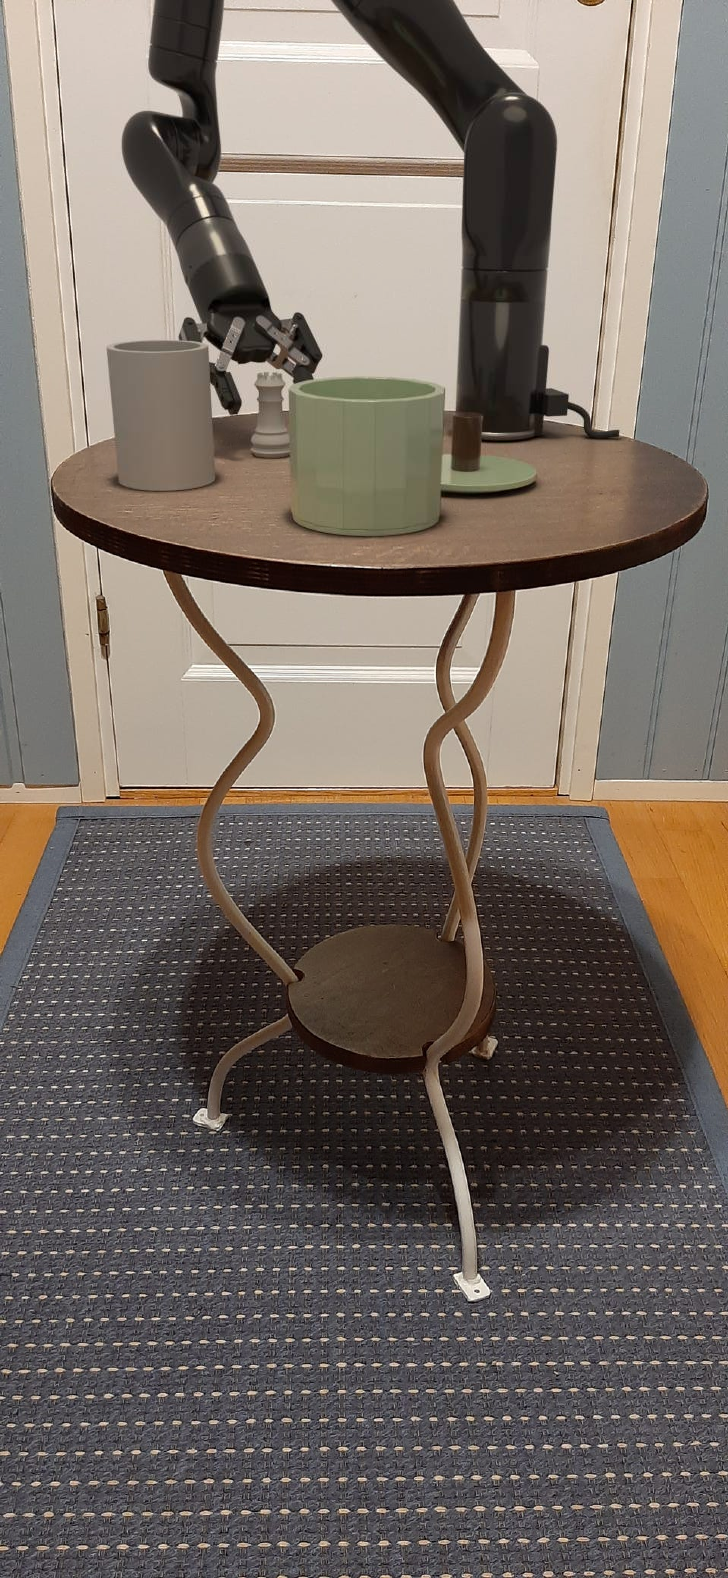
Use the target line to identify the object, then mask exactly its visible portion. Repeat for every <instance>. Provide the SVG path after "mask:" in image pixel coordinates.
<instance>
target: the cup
mask: <svg viewBox="0 0 728 1578" xmlns="http://www.w3.org/2000/svg"><path fill="white" fill-rule="evenodd" d="M209 351H210V350H209V344H207V343H205V342H202V343H201V342H194V341H182V340H179V339H143V340H129V341H121V342H115V343H110V344H108V345H107V346H106V356H107V368H108V378H109V379H108V380H109V389H110V391H109V392H110V400H111V411H112V423H113V433H114V443H115V444H114V445H115V455H116V466H117V477H118V484H120V485H121V486H123V487H125V488H129V489H134V490H140V491H141V490H142V491H152V492H153V491H154V492H155V491H156V492H167V491H169V492H171V491H185V490H190V489H196V488H197V489H198V488H200V487H206V486H208V485H210V484H213V483H214V482H215V480H216V465H215V463H216V462H215V445H214V428H213V427H214V426H213V409H212V407H213V406H212V389H211V388H212V387H211V383H210V368H209V362H210V352H209Z"/></svg>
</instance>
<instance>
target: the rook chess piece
mask: <svg viewBox="0 0 728 1578" xmlns="http://www.w3.org/2000/svg"><path fill="white" fill-rule="evenodd" d="M256 377H257V378H256V380H255V381H254V382H253V385H254V387H255V388H256V389H257V391H258V397H257V398H256V401H257V402H258V415H257V424H256V427H255V428H254V432H255V433H253V435H251V438H250V443H252V445H253V446H252V447H251V448H250V452H251V453H252V454H253V456H255V457H259V458H266V459H276V458H277V459H279V458H285V457H289V456H290V434H289V432H288V430H289V429H288V428H287V426H286V423H285V418H284V411H283V401H284V400H285V398H284V397H283V393H282V392H283V389H284V388H285V386H286V384H287V383H286V381H285V380H284V379H283V373H281V372H275V371H272V373H271V375H270V373H269V371H266V372H265V371H264V372H257V374H256Z"/></svg>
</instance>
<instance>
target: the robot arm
mask: <svg viewBox="0 0 728 1578" xmlns="http://www.w3.org/2000/svg"><path fill="white" fill-rule="evenodd" d="M330 2H331V3H332V5H334V6H335V8H336V9H337V10H338V11H339V13H340V14H341V15H342V16H343V18H344V19H345V20H346V21H347V22H348V24H349V25H350V26H351V28H353V29H354V31H355V32H356V33H357V34H358V35H359V36H360V37H361V38H362V39H363V41H364V42H365V43H366V44H367V45H368V46H369V47H370V49H371V50H372V51H374V52H375V53H376V54H377V56H378V57H380V58H381V60H382V61H384V62H385V63H386V64H387V65H388V66H389V67H390V68H391V69H392V70H394V71H395V72H396V73H397V74H398V75H399V76H400V77H401V78H402V79H403V80H405V81H406V82H407V83H408V84H409V85H410V86H411V87H413V89H415V91H417V92H418V93H419V95H421V97H423V98H424V100H425V101H426V102H427V103H428V104H429V106H431V108H432V109H433V110H434V111H435V113H436V114H437V115H438V117H439V118H440V120H441V121H442V122H443V124H444V125H445V127H446V128H447V130H448V131H449V133H450V135H452V137H453V139H454V140H455V141H456V143H457V145H458V146H459V148H460V149H461V151H462V152H463V170H462V171H463V172H462V199H461V200H462V202H461V228H460V229H461V235H460V236H461V275H460V297H459V298H460V301H459V321H458V324H459V325H458V342H457V343H458V345H457V366H456V367H457V368H456V386H455V388H456V389H455V392H456V393H455V410H454V413H458V412H475V413H480V414H482V415H483V422H482V441H498V442H499V441H518V440H526V439H531V438H533V437H541V436H543V433H544V421H545V417H550V418H551V417H565V416H568V410H569V411H572V412H574V413H577V414H578V415H579V416H580V417H581V418H582V420H583V430H584V433H585V435H586V436H588V437H589V438H592V439H593V440H594V439H595V440H605V439H611V438H619V437H620V429H612V430H605V431H604V430H603V431H596V430H594V429H592V426H591V425H592V424H591V423H592V422H591V420H592V419H591V416H590V413H589V412H588V411H587V410H586V408H584V407H582V406H580V405H579V404H576V403H574V402H572V401H571V402H570V401H569V399H570V394H569V393H566V392H564V391H560V390H558V389H555V388H552V387H550V388H547V381H548V371H549V370H548V369H549V358H550V348H549V346H548V345H546V344H543V338H544V325H545V311H546V299H547V298H546V297H547V284H548V273H549V272H548V271H549V270H548V268H549V262H550V261H549V260H550V249H551V237H552V236H551V235H552V221H553V220H552V217H553V205H554V193H555V192H554V191H555V182H556V181H555V180H556V166H557V153H558V134H557V128H556V125H555V122H554V120H553V117H552V115H551V114H550V112H549V111H548V109H547V108H546V107H545V106H544V105H543V104H542V103H541V102H540V101H538V100H537V99H536V98H534V97H532V96H530V95H528V94H527V93H526V92H525V91H524V90H523V89H522V88H521V87H520V86H519V85H518V84H517V83H516V82H515V81H514V80H513V78H511V77H510V76H509V75H508V74H507V73H506V71H505V70H503V69H502V67H501V66H500V65H499V64H498V63H497V62H496V61H495V60H494V59H493V58H492V57H491V55H490V54H489V53H488V52H487V51H486V50H485V48H484V47H483V45H482V44H481V43H480V41H479V40H478V39H477V37H476V36H475V34H474V32H473V31H472V30H471V28H470V26H469V24H468V23H467V21H466V19H465V17H464V16H463V13H462V12H461V11H460V9H459V7H458V6H457V4H456V2H455V0H330ZM224 12H225V0H154V4H153V12H152V13H153V14H152V21H151V30H150V38H149V39H150V40H149V49H148V59H147V61H148V62H147V68H148V73H149V75H150V77H151V78H152V80H153V81H155V82H156V83H157V84H159V85H161V86H163V87H165V88H167V89H169V90H171V91H173V92H174V93H176V94H177V96H178V99H179V103H180V106H181V107H180V108H181V114H182V116H179V115H174V114H168V113H165V112H160V111H155V110H141V111H138V112H136V113H135V114H133V115H131V116H130V117H129V118H128V120H127V122H126V123H125V125H124V127H123V130H122V134H121V155H122V160H123V163H124V166H125V170H126V171H127V174H128V176H129V178H130V179H131V181H132V183H133V185H134V186H135V188H136V190H138V192H139V193H140V195H141V196H142V197H143V198H144V200H145V201H146V203H148V205H149V206H150V208H151V209H152V210H153V212H154V213H155V214H156V215H157V216H158V218H159V219H160V220H161V221H162V222H163V223H164V225H165V227H166V229H167V231H168V235H169V237H170V239H171V242H172V245H173V247H174V250H175V252H176V254H177V259H178V262H179V266H180V270H181V274H182V277H183V279H184V283H185V285H186V286H187V289H188V291H189V294H190V298H191V299H192V301H193V304H194V306H195V309H196V311H197V314H198V317H199V320H200V321H201V323H197V322H196V320H195V319H194V318H193V317H190V316H188V317H185V318H184V319H183V322H182V325H181V327H180V331H179V333H178V340H182V341H194V342H201V343H203V342H204V338H205V340H206V341H207V342H208V343H210V344H211V346H213V347H215V348H216V349H217V350H218V351H220V352H219V354H218V357H217V359H216V361H215V362H212V361H209V368H210V385H211V386H213V388H214V390H215V393H216V395H217V397H218V400H219V403H220V406H221V407H222V409H223V410H225V411H227V412H228V414H229V415H230V416H234V415H235V416H236V415H238V414H239V413H240V410H241V409H242V405H243V401H242V398H241V396H240V395H241V394H240V392H239V390H238V388H237V385H236V383H235V380H234V378H233V375H232V373H231V371H227V369H228V367H229V364H230V362H231V361H234V362H235V363H237V365H246V364H249V363H256V364H262V363H263V364H264V363H266V362H267V363H268V364H269V365H271V366H272V367H273V368H274V369H276V370H282V371H283V372H285V373H286V374H287V375H289V376H290V377H291V378H292V383H293V384H296V383H300V382H303V381H307V380H314V379H315V378H314V374H315V372H316V370H317V367H318V365H320V362H321V360H322V358H323V353H322V351H321V348H320V347H319V344H318V343H317V340H316V338H315V336H314V334H313V332H312V330H311V328H310V325H309V324H308V322H307V320H306V318H305V316H304V314H303V313H301V312H299V311H297V312H294V313H293V314H292V315H293V316H292V318H285V319H284V318H283V319H280V317H278V316H277V315H276V314H275V313H274V311H273V310H272V306H271V300H270V297H269V294H268V290H267V289H266V286H265V284H264V281H263V278H262V276H261V274H260V271H259V269H258V266H257V264H256V262H255V260H254V257H253V255H252V252H251V249H250V248H249V245H248V243H247V241H246V239H245V238H244V236H243V234H242V233H241V231H240V230H239V229H240V228H238V224H237V223H236V220H235V217H234V215H233V213H232V210H231V208H230V205H229V203H228V201H227V198H226V197H225V194H224V193H223V192H222V190H221V188H219V187H218V186H217V185H216V184H215V183H214V181H215V180H216V178H217V177H218V174H219V172H220V167H221V162H222V139H221V131H220V122H219V112H218V110H219V109H218V97H217V93H218V92H217V81H216V80H217V77H216V76H217V69H218V68H217V66H218V62H217V61H218V60H219V54H220V53H219V52H220V45H221V37H222V30H223V23H224V22H223V21H224ZM276 346H278V347H279V349H280V351H279V352H278V354H277V353H276V352H274V351H275V349H276Z"/></svg>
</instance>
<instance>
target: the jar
mask: <svg viewBox="0 0 728 1578" xmlns="http://www.w3.org/2000/svg"><path fill="white" fill-rule="evenodd" d="M445 403H446V387H444V386H442V385H440V384H437V383H435V382H431V381H425V380H419V379H414V378H404V377H392V376H362V375H361V376H359V375H358V376H333V377H324V378H316V379H315V378H314V380H307V381H303V382H300V383H296V384H294V383H293V384H291V386H290V387H289V388H288V425H289V427H288V428H289V429H288V430H289V432H288V434H289V435H290V444H289V446H290V455H289V464H290V465H289V466H290V467H289V471H290V472H289V474H290V475H289V476H290V478H289V479H290V511H291V513H292V520H294V522H295V523H296V524H297V525H299V526H301V527H304V528H307V529H309V530H312V531H315V532H320V533H325V534H331V535H332V534H333V535H340V536H351V537H384V536H385V537H387V536H396V535H405V534H410V533H416V532H419V531H423V530H426V529H429V528H431V527H433V526H434V525H436V524H437V523H439V521H440V519H441V506H442V491H441V484H442V458H443V454H444V433H445V432H444V430H445V429H444V428H445V407H446V406H445Z"/></svg>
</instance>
